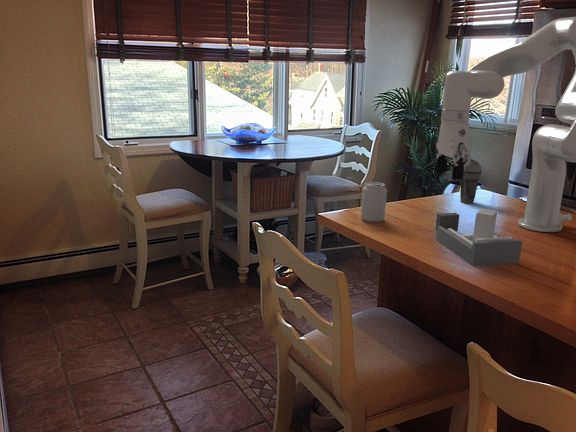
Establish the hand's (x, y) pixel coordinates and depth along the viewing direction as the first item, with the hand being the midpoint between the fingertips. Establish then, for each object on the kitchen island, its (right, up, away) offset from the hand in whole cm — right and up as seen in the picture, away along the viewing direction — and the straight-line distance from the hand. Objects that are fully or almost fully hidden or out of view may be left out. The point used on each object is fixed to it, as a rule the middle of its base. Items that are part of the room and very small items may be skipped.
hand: (448, 175), depth 154 cm
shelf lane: (+4, -21, -10) cm, 24 cm away
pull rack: (+3, -19, -6) cm, 21 cm away
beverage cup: (+18, -7, +39) cm, 43 cm away
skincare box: (+5, -22, -13) cm, 26 cm away
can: (-20, -13, +15) cm, 28 cm away
